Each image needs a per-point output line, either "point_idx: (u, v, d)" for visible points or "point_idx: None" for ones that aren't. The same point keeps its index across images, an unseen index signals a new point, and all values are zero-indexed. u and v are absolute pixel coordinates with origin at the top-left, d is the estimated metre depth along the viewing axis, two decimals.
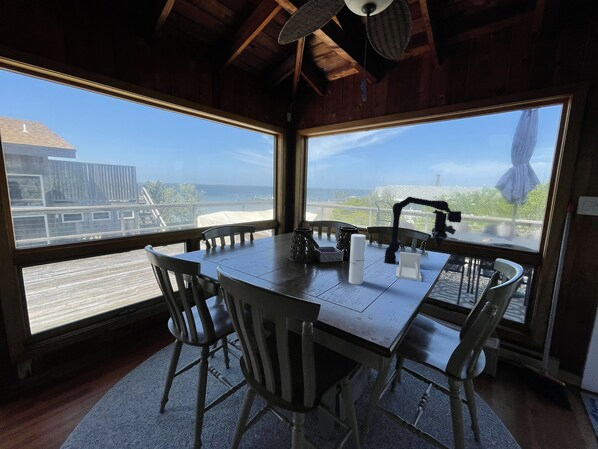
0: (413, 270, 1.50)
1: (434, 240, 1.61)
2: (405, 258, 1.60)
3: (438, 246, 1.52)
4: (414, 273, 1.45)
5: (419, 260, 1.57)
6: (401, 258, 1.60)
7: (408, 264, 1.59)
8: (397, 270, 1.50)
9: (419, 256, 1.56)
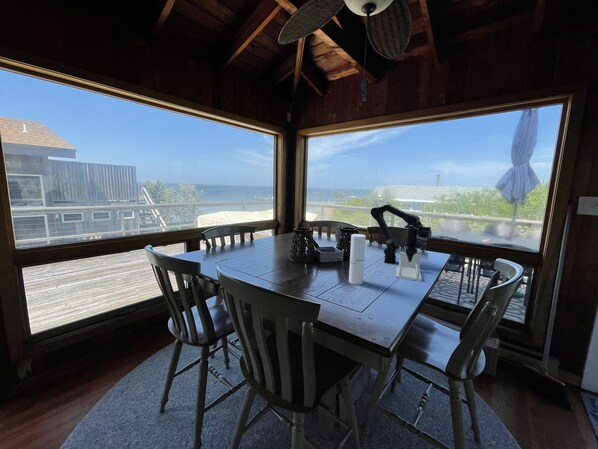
0: (413, 270, 1.50)
1: None
2: (405, 258, 1.60)
3: (409, 260, 1.55)
4: (414, 273, 1.45)
5: (419, 260, 1.57)
6: (401, 258, 1.60)
7: (408, 264, 1.59)
8: (397, 270, 1.50)
9: (419, 256, 1.56)
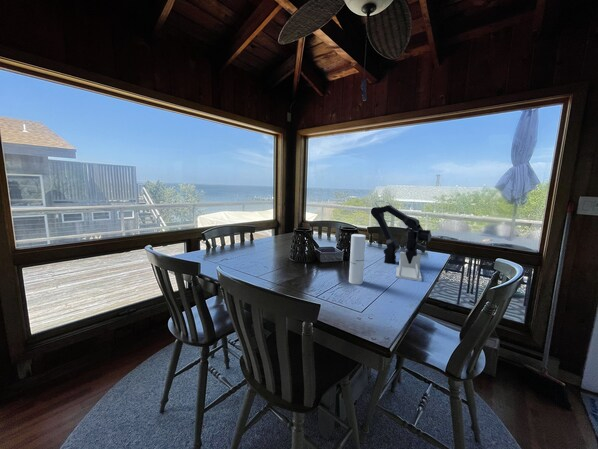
0: (413, 270, 1.50)
1: None
2: (405, 258, 1.60)
3: (409, 262, 1.58)
4: (414, 273, 1.45)
5: (419, 260, 1.57)
6: (401, 258, 1.60)
7: (408, 264, 1.59)
8: (397, 270, 1.50)
9: (419, 256, 1.56)
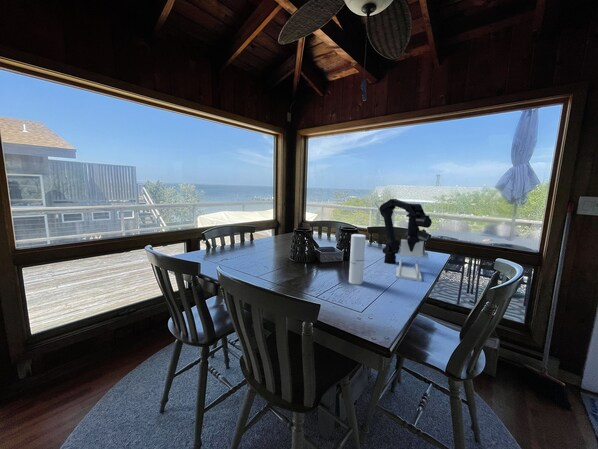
0: (413, 270, 1.50)
1: None
2: (407, 246, 1.50)
3: (411, 250, 1.49)
4: (414, 273, 1.45)
5: (421, 247, 1.48)
6: (402, 246, 1.51)
7: (410, 252, 1.50)
8: (397, 270, 1.50)
9: (421, 243, 1.47)
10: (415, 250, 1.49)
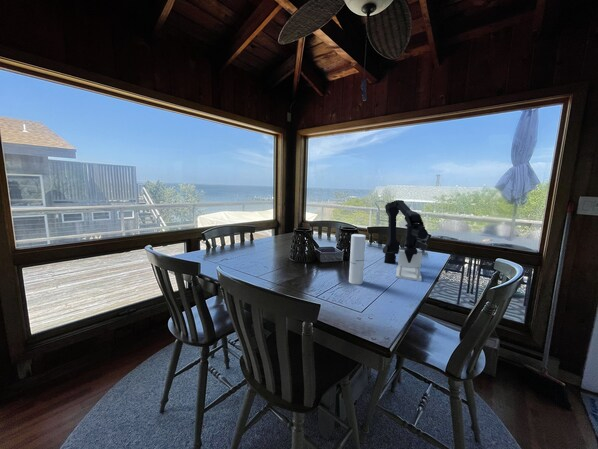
0: (413, 270, 1.50)
1: None
2: (404, 257, 1.45)
3: (409, 261, 1.44)
4: (414, 273, 1.45)
5: (420, 259, 1.43)
6: (400, 257, 1.46)
7: (408, 263, 1.45)
8: (397, 270, 1.50)
9: (420, 255, 1.42)
10: (413, 261, 1.44)
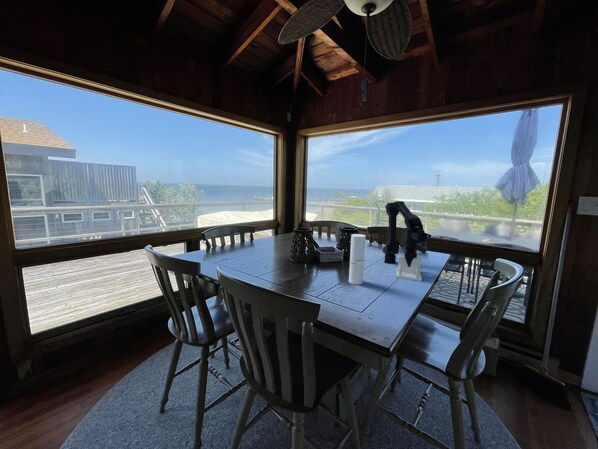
0: None
1: None
2: (404, 262, 1.46)
3: (409, 265, 1.43)
4: None
5: (419, 265, 1.43)
6: (400, 262, 1.47)
7: (407, 269, 1.46)
8: None
9: (419, 260, 1.43)
10: (413, 267, 1.45)
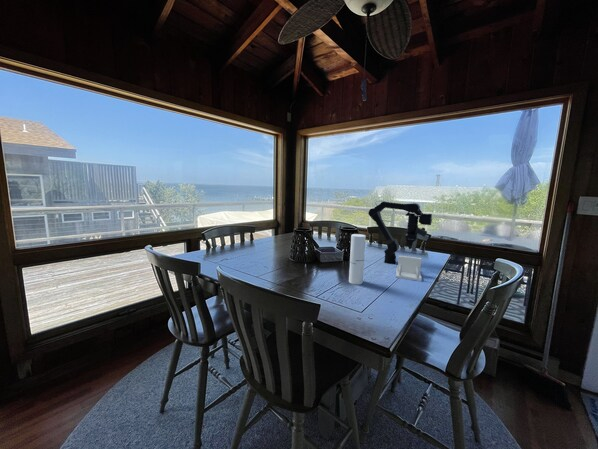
0: None
1: None
2: (404, 262, 1.46)
3: (409, 248, 1.57)
4: None
5: (419, 265, 1.43)
6: (400, 262, 1.47)
7: (407, 269, 1.46)
8: None
9: (419, 260, 1.43)
10: (413, 267, 1.45)
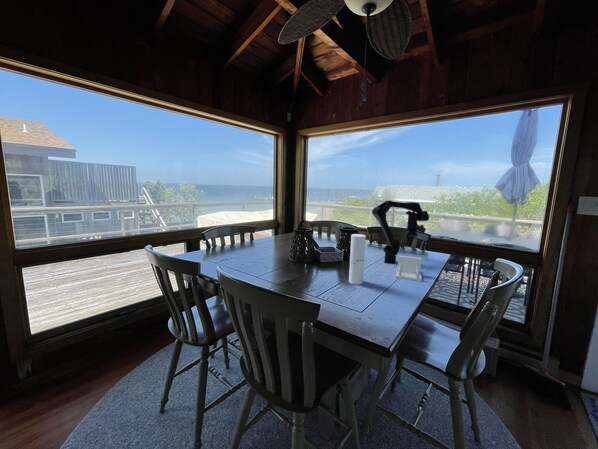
0: None
1: None
2: (404, 262, 1.46)
3: (410, 244, 1.66)
4: None
5: (419, 265, 1.43)
6: (400, 262, 1.47)
7: (407, 269, 1.46)
8: None
9: (419, 260, 1.43)
10: (413, 267, 1.45)
